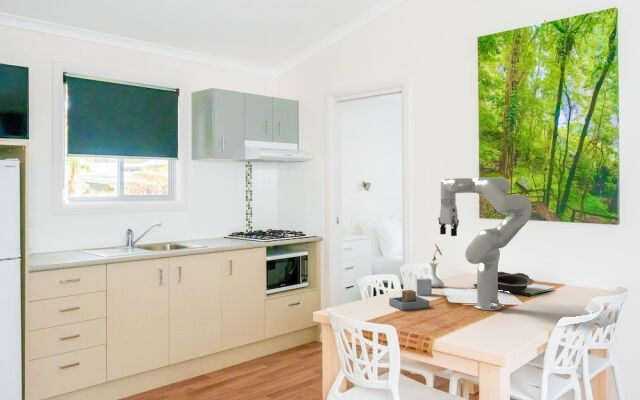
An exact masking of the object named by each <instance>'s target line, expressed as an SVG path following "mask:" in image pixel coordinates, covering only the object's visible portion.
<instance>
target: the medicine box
mask: <svg viewBox="0 0 640 400" xmlns="http://www.w3.org/2000/svg"><path fill="white" fill-rule="evenodd" d="M415 279H416V296H432V295H433V293H432V290H433V287H432V280H431V278H430V277H428V278H427V277H424V278H423V277H422V278H421V277H420V278H419V277H417V278H415Z"/></svg>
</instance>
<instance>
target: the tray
mask: <svg viewBox="0 0 640 400" xmlns="http://www.w3.org/2000/svg"><path fill="white" fill-rule="evenodd" d="M388 299H389V302H388V303H389V305H388V306H390V307H393V308H395V309H397V310H400V311H401V310H402V311H401V312H405V311H404V310H406V311H413V310H414V309H415V310H421V309H430V300H429V299H425V298H423V297H421V296H419V295H416V302H408V303H402V296H396V297H389V298H388Z"/></svg>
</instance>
